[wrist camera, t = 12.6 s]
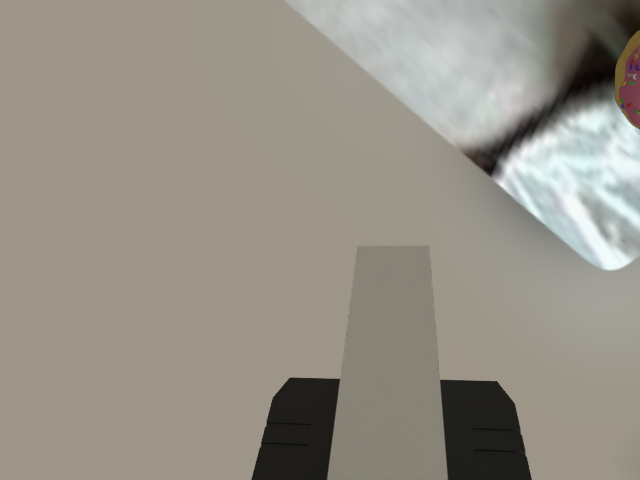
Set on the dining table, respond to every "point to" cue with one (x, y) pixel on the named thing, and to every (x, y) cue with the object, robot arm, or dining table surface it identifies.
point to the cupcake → (629, 81)
